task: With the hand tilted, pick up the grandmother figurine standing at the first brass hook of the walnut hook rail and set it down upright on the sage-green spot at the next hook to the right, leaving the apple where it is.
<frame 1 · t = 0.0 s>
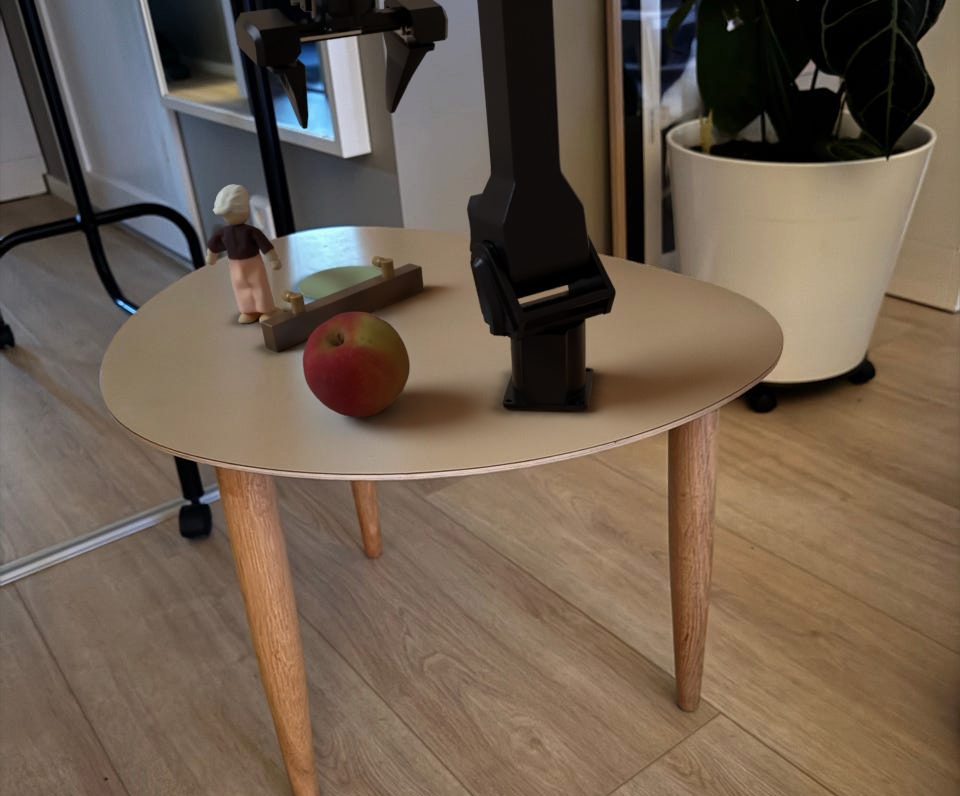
hand: (347, 119, 92), 15 cm above the table, tool pointing down, fingers open, 9 cm apart
apple: (364, 413, 73), on the table
hook rail: (349, 317, 90), on the table
grandmother figurine: (256, 319, 91), on the table
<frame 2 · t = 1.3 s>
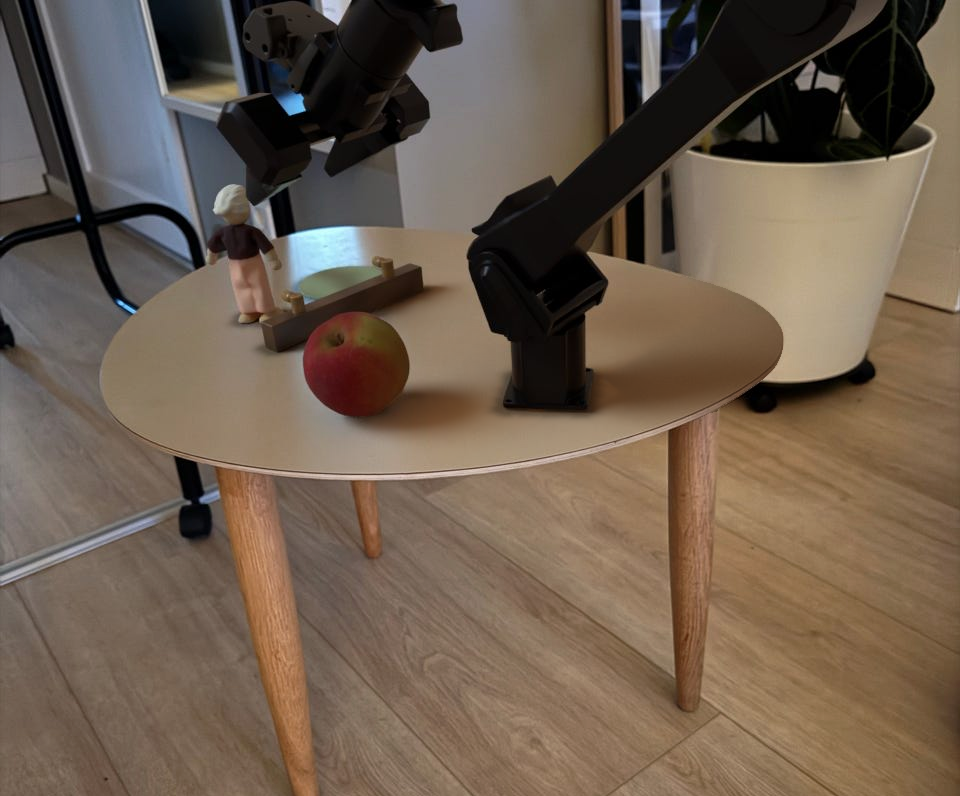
hand: (291, 186, 80), 13 cm above the table, tool tilted 45°, fingers open, 9 cm apart
nothing on the table moved.
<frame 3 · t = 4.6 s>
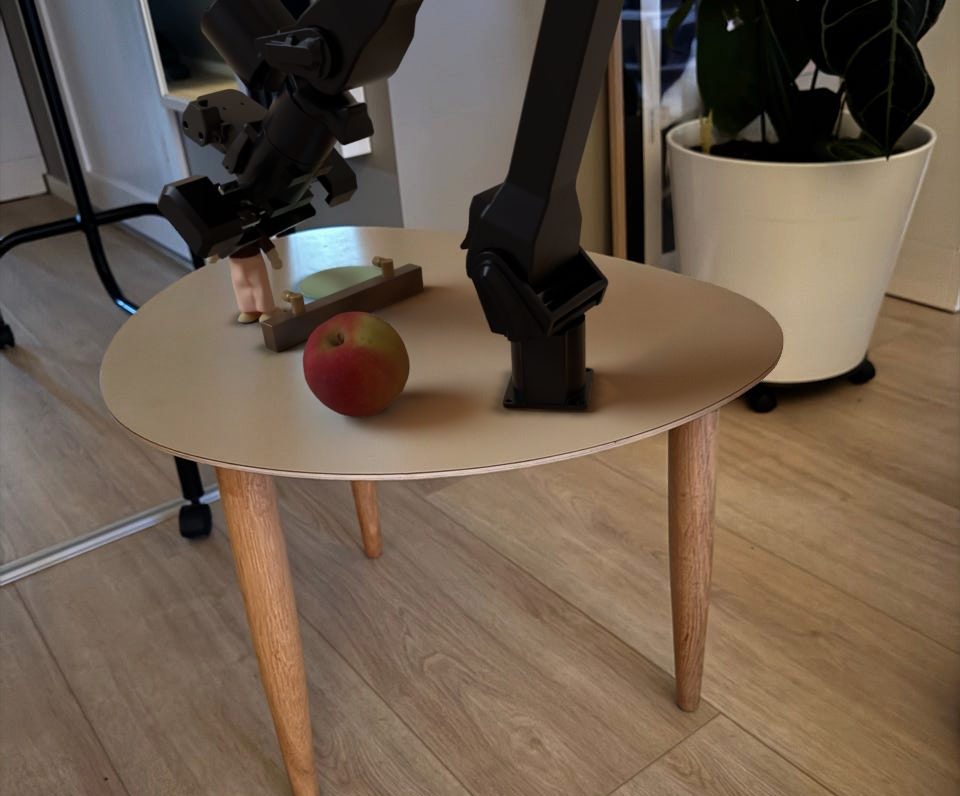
hand: (232, 249, 88), 7 cm above the table, tool tilted 45°, fingers closed on grandmother figurine, 3 cm apart
grandmother figurine: (256, 319, 91), on the table, touching gripper
everything else where it was.
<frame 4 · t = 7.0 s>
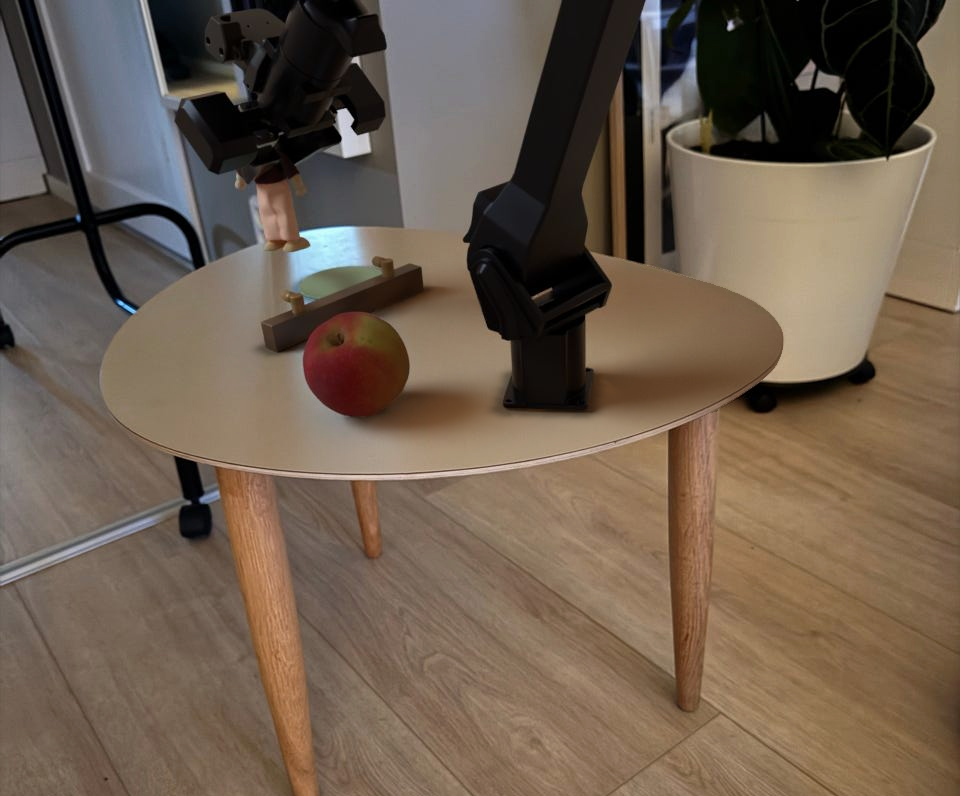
hand: (260, 176, 88), 12 cm above the table, tool tilted 45°, fingers closed on grandmother figurine, 3 cm apart
grandmother figurine: (282, 249, 91), point 6 cm above the table, touching gripper
everything else where it was.
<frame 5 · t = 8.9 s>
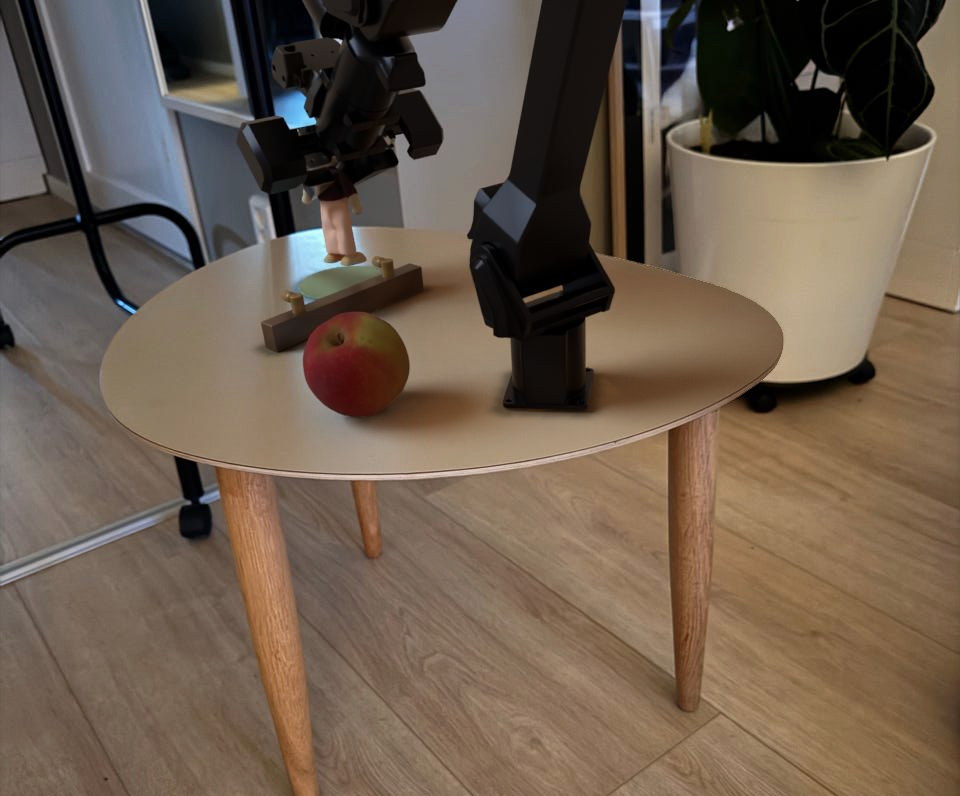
hand: (324, 192, 93), 9 cm above the table, tool tilted 45°, fingers closed on grandmother figurine, 3 cm apart
grandmother figurine: (341, 261, 96), point 2 cm above the table, touching gripper
everything else where it was.
when the fingers open (7 cm above the table, at t = 9.9 s): grandmother figurine stays where it is, resting on hook rail.
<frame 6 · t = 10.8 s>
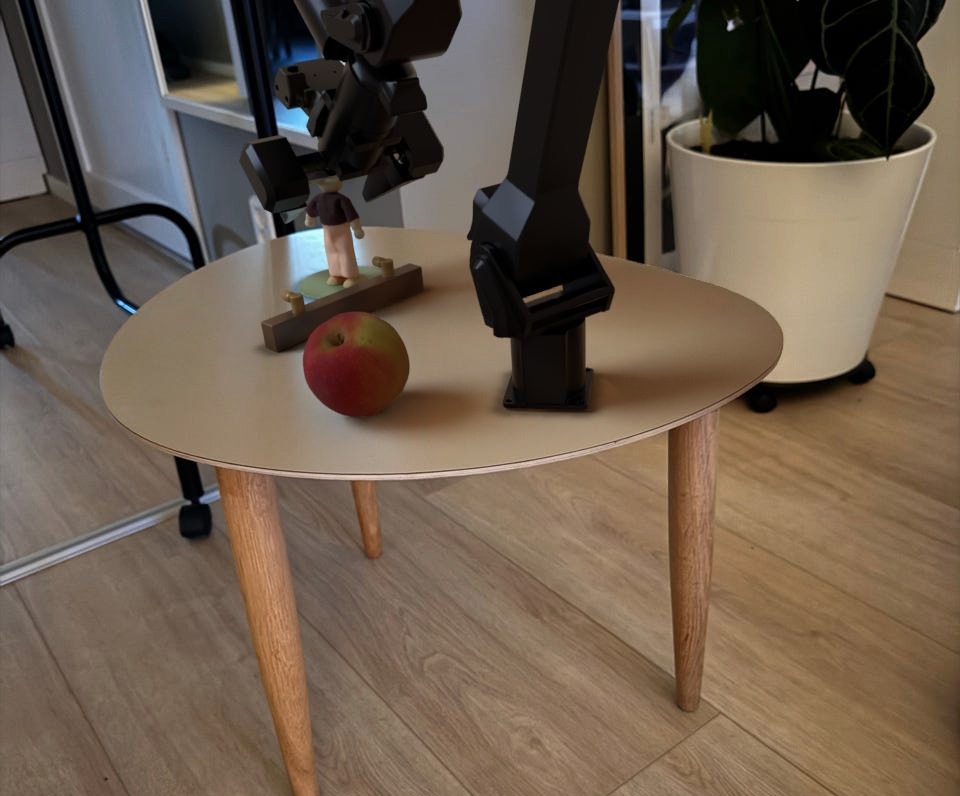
hand: (325, 208, 94), 8 cm above the table, tool tilted 45°, fingers open, 9 cm apart
grandmother figurine: (344, 283, 97), resting on hook rail
everything else where it was.
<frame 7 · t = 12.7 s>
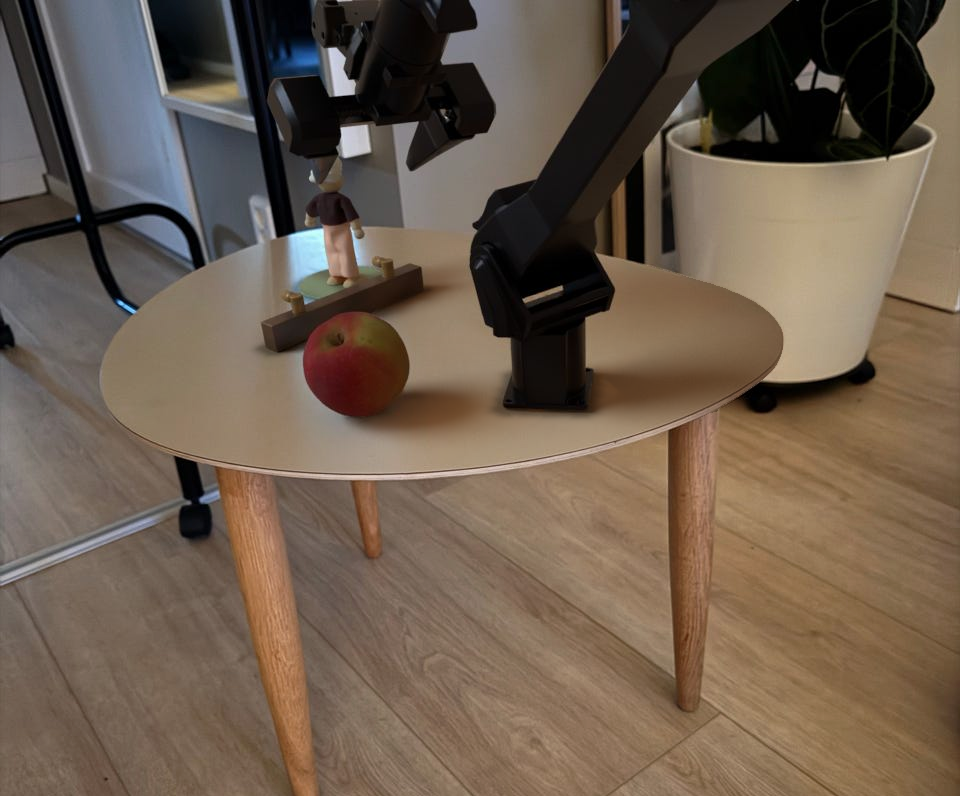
hand: (364, 173, 86), 12 cm above the table, tool tilted 40°, fingers open, 9 cm apart
nothing on the table moved.
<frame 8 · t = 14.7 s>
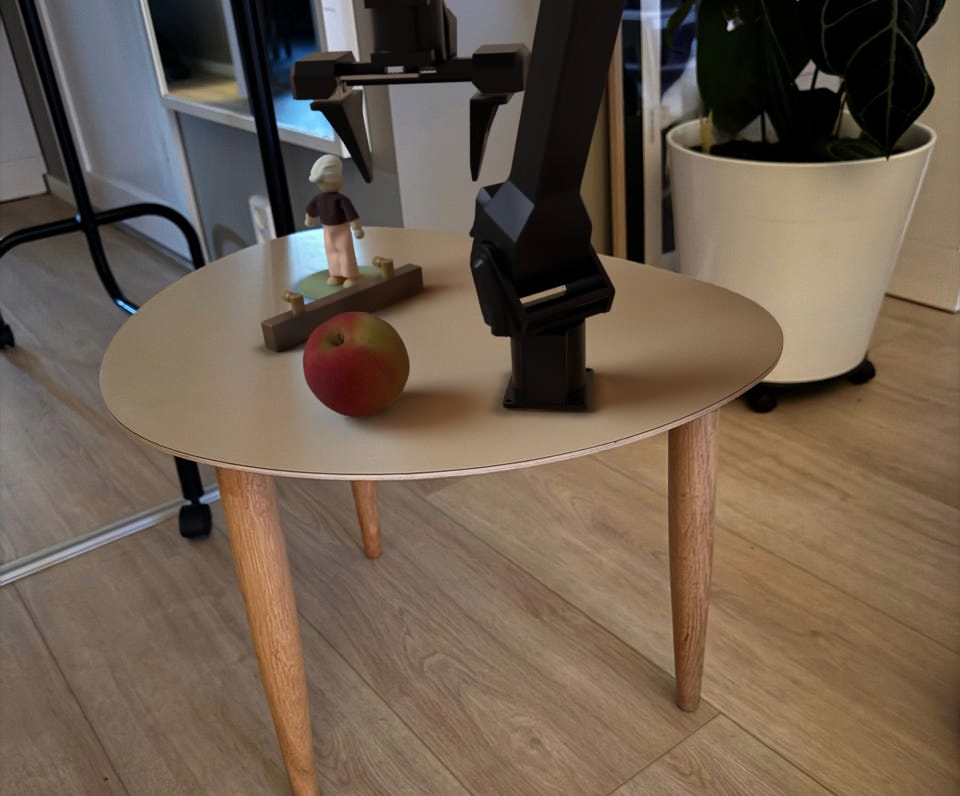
hand: (422, 181, 80), 13 cm above the table, tool pointing down, fingers open, 9 cm apart
nothing on the table moved.
at the end: grandmother figurine 0.2 cm from the target spot on the hook rail, point 0.1 cm above the hook rail's base; grandmother figurine tilted 0°; apple moved 0.2 cm from its start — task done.
